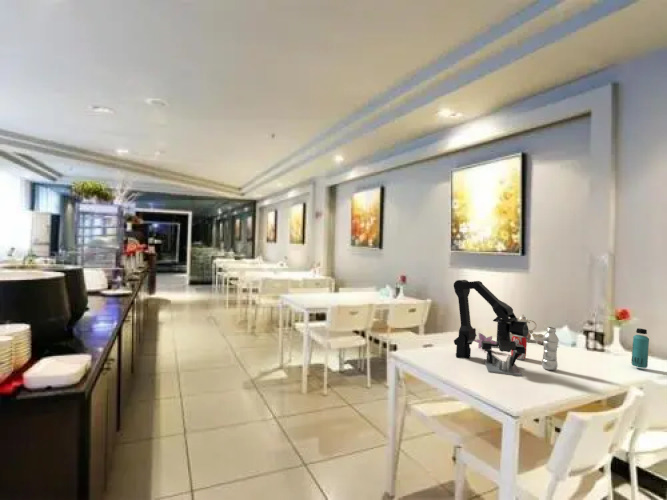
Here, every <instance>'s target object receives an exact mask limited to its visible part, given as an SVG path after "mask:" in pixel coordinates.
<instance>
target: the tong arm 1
mask: <svg viewBox="0 0 667 500" xmlns="http://www.w3.org/2000/svg"><path fill="white" fill-rule="evenodd" d="M486 359H487V361H488V362H489V363H491V362H490V358H489V355H488V352H486ZM502 361H503V360H502V359H500V358H499V357H498V356H497V355H495V354H494V353H492V364H493V365H494V366H496V367H497V368H498V369H502Z"/></svg>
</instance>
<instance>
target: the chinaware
mask: <svg viewBox="0 0 667 500" xmlns="http://www.w3.org/2000/svg"><path fill="white" fill-rule="evenodd" d="M516 318H517V319H518V321H524V322H527V324H530V323H531V322H532V323H534V326H535V327H534V328H532V329H529V331H528V335H527V336H526V339H527V343H528V342H529V341H530V340H531V338H533V340H534V342H536V344H537V345H540V344H543V336H544V335H545V334H541V333H534V331H535V330H536V329H537V323H536V322H535V321H534V320H532V319H531V320H530V319H529V318H527V317H526V316H525V315H524V313H522V314H521V315H520V316H519V317H516ZM531 334H532V335H531ZM513 336H514V335H513V334H512V333H510V341H512V337H513Z"/></svg>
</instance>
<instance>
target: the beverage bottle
mask: <svg viewBox="0 0 667 500" xmlns="http://www.w3.org/2000/svg"><path fill="white" fill-rule="evenodd" d="M635 332H636V333H637V334H635V335H634V336H633V337H632V339H633V340H632V349H631V351H632V352H631V362H630V363H631V365H632V366H633V367H636V368H642V369H647V368H648V366H649V364H648V363H649V348H650V347H649V346H650V345H649V344H650V338H649V337H648V336H646V335H647V334H648V330H647V329H645V328H639V327H638V328H636V331H635Z"/></svg>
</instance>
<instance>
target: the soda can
mask: <svg viewBox="0 0 667 500" xmlns="http://www.w3.org/2000/svg"><path fill="white" fill-rule="evenodd" d="M511 341H514V342H516V344H519V345H523V346H524V347H525V350H526V351H525V354H523V353H522V355H519V356H518V357H517V359H516V360H518V361H523V360H525V359H526V357H527V347H528V346H527V343H528V342H527V339H526V337H523V336H518V335H514V336H513V337H512V340H511ZM510 355H513V350H511V352H510Z"/></svg>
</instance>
